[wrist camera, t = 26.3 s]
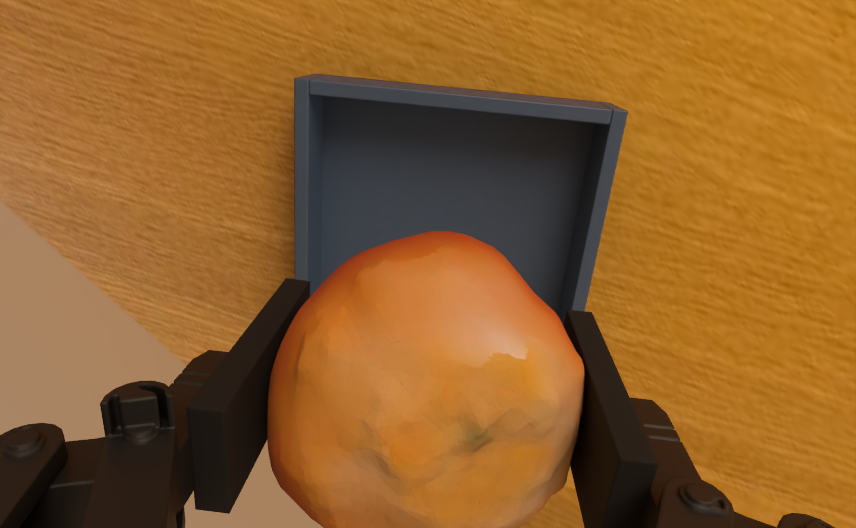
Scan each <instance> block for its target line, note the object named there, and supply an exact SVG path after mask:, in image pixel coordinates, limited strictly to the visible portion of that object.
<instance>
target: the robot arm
mask: <svg viewBox="0 0 856 528" xmlns="http://www.w3.org/2000/svg"><path fill="white" fill-rule="evenodd" d="M309 298H310V281H306V280H297V279H288V278H286V279H285V280H284V282H283V283H282V284H281V286H280V287H279V288H278V289H277V291H276V292H275V293H274V295H273V296H272V297H271V298H270V300H269V301H268V302H267V304H266V305H265V306H264V308H263V309H262V310H261V311H260V313H259V314H258V315H257V317H256V318H255V319H254V320H253V322H252V323H251V324H250V326H249V327H248V328H247V329H246V331H245V332H244V333H243V335H242V336H241V337H240V338H239V340H238V341H237V342H236V344H235V345H234V346H233V347H232V349H231V350H230V351H229V352H222V351H213V350H208V351H207V352H205V353H203V354H201V355H200V356H198V357H196V358H194V359H193V360H192V361H191V362H190V363H189V364H188V365H187V367H186V368H185V369H184V370H183V372H182V374H180V375H179V376H178V377H177V378H176V379H175V380H174V383H172V384H171V385H170V386H169V387H168V386H167V385H166V384H164V383H160V382H156V381H138V382H133V383H129V384H126V385H123V386H121V387H118V388H116V389H114V390H112V391H111V392H110V393H108V394H107V395H106V396H105V397H104V398H103V400H102V402H101V403H100V406H101V412H102V418H103V425H104V431H105V437H103V438H97V439H88V440H79V441H69V442H65V439H64V435H63V432H62V429H61V428H59V427H57V426H56V425H53V424H46V423H38V424H28V425H24V426H21V427H18V428H14V429H12V430H10V431H8V432H6V433H4V434H2V435H0V528H185V514H184V513H185V512H184V505H185V503H186V502H187V500H188V499H189V497H190V495H191V494H192V492H193V490H194V498H195V508H196V509H198V510H206V511H213V512H221V513H230V511H231V509H232V507H233V505H234V503H235V501H236V499H237V497H238V495H239V494H240V492H241V489H242V488H243V486H244V484H245V482H246V480H247V478H248V476H249V474H250V472H251V470H252V468H253V466H254V464H255V462H256V460H257V458H258V456H259V454H260V452H261V450H262V448H263V447H264V444H265V443H266V440H267V417H268V393H269V383H270V376H271V371H272V368H273V364H274V361H275V358H276V356H277V353H278V350H279V348H280V345H281V343H282V340H283V338H284V336H285V334H286V332H287V330H288V328H289V326H290V325H291V323H292V321H293V319H294V317H295V316H296V314H297V312H298V311H299V309H300V308H301V307H302V306H303V304H304V303H305V302H306V301H307V300H308V299H309ZM563 327H564V329H565V331H566V333H567V335H568V337H569V339H570V341H571V343H572V344H573V346H574V348H575V350H576V352H577V353H578V355H579V356H580V357H581V359H582V362H583V365H584V374H585V375H584V392H583V409H582V415H581V419H580V424H579V430H578V438H577V442H576V445H575V447H574V450H573V454H572V458H571V462H570V466H571V470H572V475H573V479H574V483H575V488H576V492H577V496H578V501H579V505H580V509H581V513H582V518H583V522H584V526H585V528H835V527H833V526H831V525H829V524H828V523H826V522H824V521H822V520H820V519H818V518H815V517H812V516H809V515H806V514H798V513H791V514H787V515H784V516H783V517H782V518H781V520H780V521H779V523H778V526H777V527H774V526H771V525H768V524H765V523H762V522H760V521H757V520H754V519H751V518H748V517H746V516H743V515H741V514H739V513H736V512H734V510H733V507H732V504H731V502H730V501H729V500H728V499H727V497H726V496H725V495H724V494H723V493H722V492H721V491H719V490H718V489H717V488H716V487H714V486H713V485H711V484H709V483H707V482H705V481H703V480H701V478H700V476H699V474H698V472H697V471H696V469H695V467H694V465H693V463H692V461H691V459H690V457H689V455H688V453H687V451H686V449H685V448H684V446H683V444H682V442H680V438H679V436H678V434H677V432H676V431H675V430H674V427H673V425H672V423H671V421H670V419H669V417H668V415H667V413H666V412H664V411H663V410H662V409H661V408H660V407H659V406H658V405H657V404H656V403H655V402H654V401H652V400H646V399H638V398H629V396H628V393H627V391H626V389H625V386H624V384H623V382H622V380H621V377H620V375H619V373H618V371H617V368H616V366H615V364H614V362H613V359H612V357H611V355H610V353H609V350H608V348H607V346H606V343H605V341H604V339H603V337H602V334H601V332H600V330H599V328H598V325H597V323H596V321H595V319H594V316H593V314H592V312H584V311H575V310H567V312H566V317H565V321H564V326H563Z"/></svg>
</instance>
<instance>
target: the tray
mask: <svg viewBox="0 0 856 528" xmlns="http://www.w3.org/2000/svg"><path fill="white" fill-rule="evenodd" d="M627 115H628V111H626V110H624V109H622V108H620V107H618V106H615V105H613V104H611V103H606V102H595V101H585V100H575V99H565V98H555V97H545V96H535V95H525V94H515V93H504V92H494V91H484V90H474V89H464V88H454V87H444V86H434V85H424V84H413V83H403V82H393V81H383V80H373V79H363V78H353V77H343V76H333V75H323V74H311V75H307V76H302V77H298V78H295V79H294V124H295V279H297V280H306V281H310V297H311V296H312V295H313V294H314V292H315V291H316V290H317V289H318V288H319V287H320V285H321V284H322V283H323V282H324V281H325V280H326V279H327V278H328V277H329V276H330V275H331V274H332V273H333V272H334V271H335V270H336V269H337V268H338V267H339V266H340V265H342V264H343V263H344V262H346V261H347V260H348V259H350V258H352V257H353V256H355V255H357V254H359V253H361V252H363V251H365V250H368V249H370V248H373V247H376V246H379V245H382V244H385V243H388V242H390V241H393V240H397V239H401V238H405V237H409V236H413V235H417V234H421V233H426V232H430V231H449V232H456V233H462V234H465V235H468V236H471V237H473V238H475V239H477V240H480V241H482V242H484V243H486V244H488V245H491V246H493V247H494V248H495V249H496V250H498V251H499V252H500V253H501V254H503V255H504V256H505V258H506V259H507V260H508V261H509V262H510V263H511V265H512V266H513V267H514V268H515V269H516V271H517V272H518V273H519V274H520V275H521V277H522V278H523V279H524V281H525V282H526V283H527V284H528V286H529V287H530V288H531V289H532V290H533V292H534V293H535V294H536V295H537V296H538V297H539V298H540V299H542V300H543V301H544V302H545V303H546V304H547V305H548V306H549V307H550V308H551V309H552V310H553V311H554V312H555V313H556V314H557V316H558V317H559V318H560V320H561V322H562V324H563V326H564V321H565V317H566V312H567V310H575V311H585V306H586V302H587V297H588V293H589V288H590V284H591V279H592V274H593V270H594V265H595V261H596V256H597V252H598V247H599V242H600V238H601V233H602V229H603V224H604V220H605V215H606V210H607V206H608V201H609V197H610V192H611V188H612V183H613V178H614V174H615V169H616V165H617V160H618V156H619V151H620V147H621V142H622V137H623V133H624V128H625V124H626V119H627Z"/></svg>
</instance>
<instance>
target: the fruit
mask: <svg viewBox="0 0 856 528" xmlns="http://www.w3.org/2000/svg"><path fill="white" fill-rule="evenodd" d="M584 375H585V374H584V365H583V362H582V359H581V357H580V356H579V355H578V353H577V352H576V350H575V348H574V346H573V344H572V343H571V341H570V339H569V337H568V335H567V333H566V331H565V329H564V327H563V324H562V322H561V320H560V318H559V317H558V316H557V314H556V313H555V312H554V311H553V310H552V309H551V308H550V307H549V306H548V305H547V304H546V303H545V302H544V301H543V300H542V299H540V298H539V297H538V296H537V295H536V294H535V293H534V292H533V290H532V289H531V288H530V287H529V286H528V284H527V283H526V282H525V281H524V279H523V278H522V277H521V275H520V274H519V273H518V272H517V271H516V269H515V268H514V267H513V266H512V265H511V263H510V262H509V261H508V260H507V259H506V258H505V256H504V255H503V254H501V253H500V252H499V251H498V250H496V249H495V248H494V247H493V246H491V245H488V244H486V243H484V242H482V241H480V240H477V239H475V238H473V237H471V236H468V235H465V234H462V233H456V232H449V231H430V232H426V233H421V234H417V235H413V236H409V237H405V238H401V239H397V240H393V241H390V242H388V243H385V244H382V245H379V246H376V247H373V248H370V249H368V250H365V251H363V252H361V253H359V254H357V255H355V256H353V257H352V258H350V259H348V260H347V261H346V262H344V263H343V264H342V265H340V266H339V267H338V268H337V269H336V270H335V271H334V272H333V273H332V274H331V275H330V276H329V277H328V278H327V279H326V280H325V281H324V282H323V283H322V284H321V285H320V287H319V288H318V289H317V290H316V291H315V292H314V294H313V295H312V296H311V297H310V298H309V299H308V300H307V301H306V302H305V303H304V304H303V306H302V307H301V308H300V309H299V311H298V312H297V314H296V316H295V317H294V319H293V321H292V323H291V325H290V326H289V328H288V330H287V332H286V334H285V336H284V338H283V340H282V343H281V345H280V348H279V350H278V353H277V356H276V358H275V361H274V364H273V368H272V371H271V376H270V383H269V393H268V417H267V440H268V451H269V457H270V462H271V467H272V471H273V473H274V475H275V477H276V479H277V481H278V483H279V485H280V487H281V488H282V489H283V490H284V491H285V492H286V493H287V494H288V495H289V496H290V497H291V498H292V499H293V500H294V501H295V502H296V503H297V504H298V505H299V506H300V507H301V508H302V509H303V510H304V511H305V513H307V514H308V515H309V517H310V518H311V519H313V520H314V521H316V522H317V523H318V524H320V525H321V526H322V527H324V528H519V527H521V526H523V525H525V524H527V523H529V522H531V521H532V520H533V519H534V517H535V516H536V514H537V513H538V512H539V511H540V510H541V509H542V507H543V506H544V505H545V503H546V502H547V500H548V499H549V498H550V497H551V496H552V495H554V494H555V493H557V492H558V491H560V490H561V489H562V488H563V487H564V485H565V483H566V480H567V474H568V471H569V467H570V462H571V458H572V454H573V450H574V447H575V445H576V442H577V438H578V430H579V424H580V419H581V415H582V409H583V392H584Z"/></svg>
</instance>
